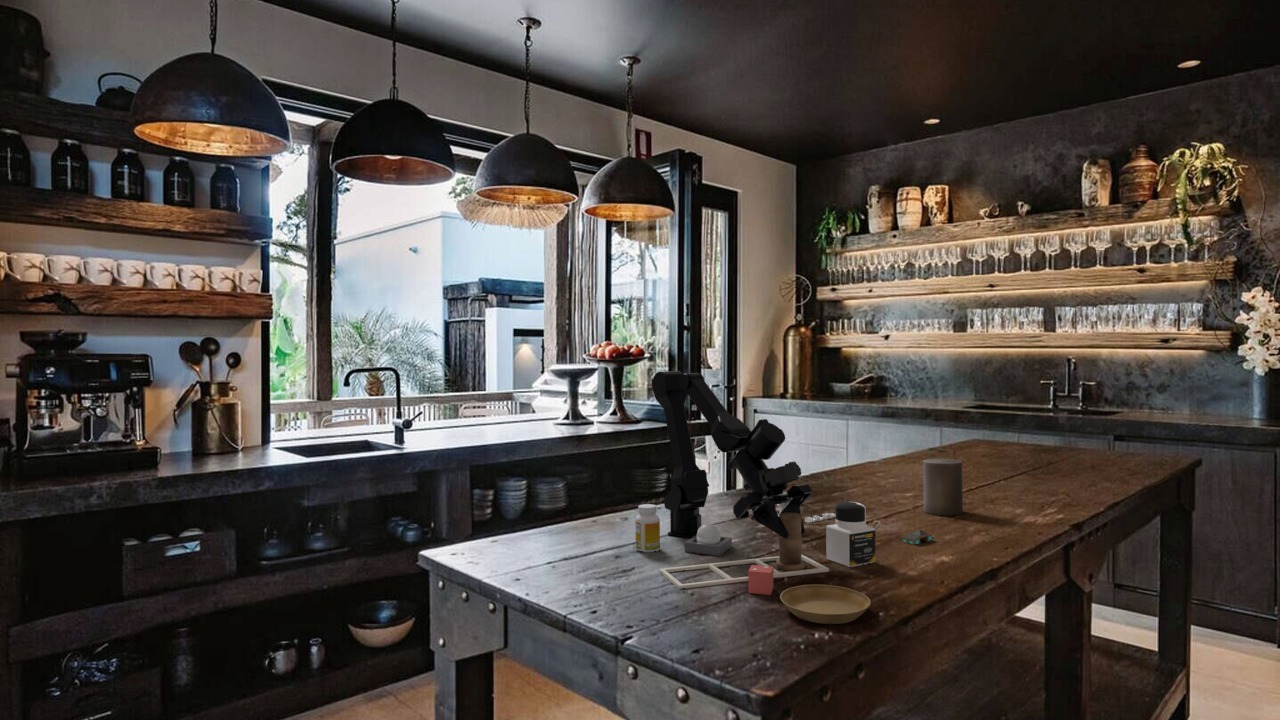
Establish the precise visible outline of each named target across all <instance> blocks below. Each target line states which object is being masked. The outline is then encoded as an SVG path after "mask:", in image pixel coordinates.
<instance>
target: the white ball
mask: <svg viewBox="0 0 1280 720" xmlns="http://www.w3.org/2000/svg"><path fill="white" fill-rule="evenodd" d="M720 536H721V532H720V529H719V528H718V526H716V525H715V524H713V523H710V522H709V523H703V524H701V526H700V528H699V529H698V531H697V543H705V544H714V545H717V544H718V543H720Z"/></svg>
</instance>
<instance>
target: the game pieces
mask: <svg viewBox="0 0 1280 720" xmlns="http://www.w3.org/2000/svg"><path fill="white" fill-rule="evenodd" d="M784 493H787V491H786V492H784ZM776 512H777V513H778V512H779V513H780V506H776ZM779 513H778V514H779ZM834 518H835V519H836V513H832V512H831V513H828V512H825V513H821V516H819V515H816V514H815V515H813V516H812V517H811V516H807V517H805V518H804V522H805V523H807V524H811V523H815V522H820V521H825V520H828V519H834ZM934 536H935V535H933V534H929V533H927V532H926V531H925V529H921V528H920V529H918V530H915V531H914V532H912V533H909V534H905V535H904V534H903V535H902V536H900V542H901V541H902V542H901V543H903V542H906V543H905V544H907V543H910V544H909V545H911V544H914V545H913V546H916V545H915V544H918V545H920V544H921V541H922V540H925V541H924V542H926V541H929V540H933V537H934ZM934 538H935V537H934ZM920 539H921V540H920ZM929 542H930V541H929ZM919 543H920V544H919Z"/></svg>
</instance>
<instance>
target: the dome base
mask: <svg viewBox="0 0 1280 720" xmlns="http://www.w3.org/2000/svg"><path fill="white" fill-rule="evenodd" d="M732 547H733V538H732V537H728V536H721V535H720V543H718V544H717V545H714V544H705V543H697V535H696V536H694V537H692V538H690V539H687V541H685V542H684V552H685V551H688V552H687V553H693V552H695V553H694V554H701V553H702V555H703V554H704V555H709V554H710V555H711V556H718V557H719V556H721V555H723V553H725V552H727V551H728V550H729V549H730V548H732Z"/></svg>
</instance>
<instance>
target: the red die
mask: <svg viewBox="0 0 1280 720" xmlns="http://www.w3.org/2000/svg"><path fill="white" fill-rule="evenodd" d="M773 568H774V566H772V565H769V566H761V565H758V564H751V566H750V568H749V569H748V573H747V574H748V576H747V577H748V581H747V582H748V585H747V586H748V587H747V588H748V589H747V590H748V591H747V592H748V594H757V595H769V596H771V595H772V593H773V590H774V578H773Z"/></svg>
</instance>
